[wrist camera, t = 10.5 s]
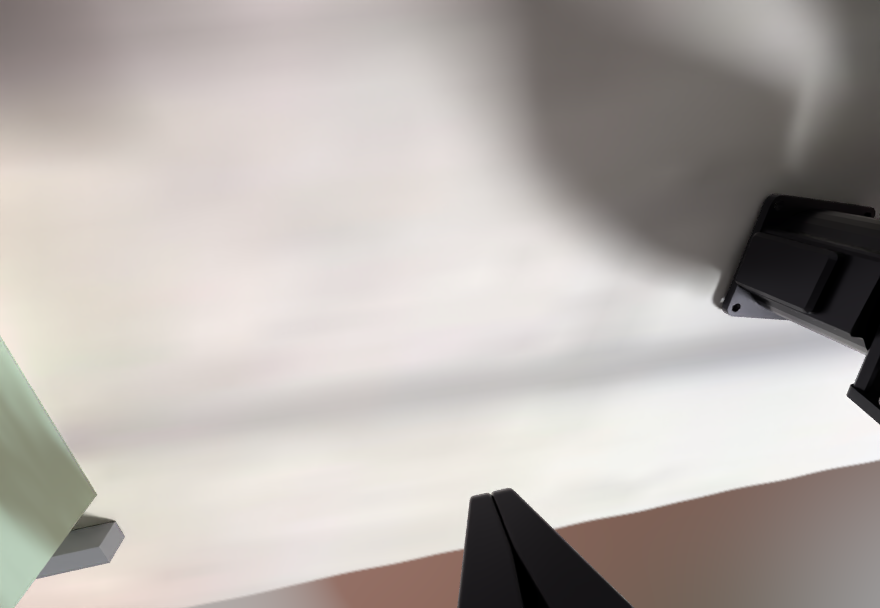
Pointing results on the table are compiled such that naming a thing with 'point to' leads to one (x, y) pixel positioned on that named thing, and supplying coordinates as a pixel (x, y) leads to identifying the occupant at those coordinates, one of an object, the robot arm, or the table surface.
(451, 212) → the table surface
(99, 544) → the frame
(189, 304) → the table surface
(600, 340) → the table surface
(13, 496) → the T-block
